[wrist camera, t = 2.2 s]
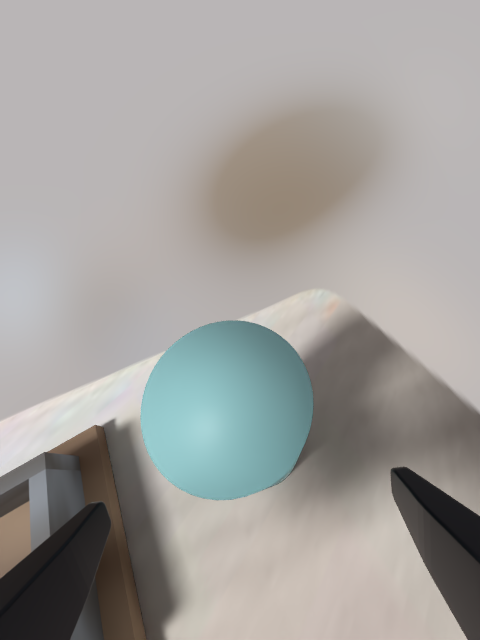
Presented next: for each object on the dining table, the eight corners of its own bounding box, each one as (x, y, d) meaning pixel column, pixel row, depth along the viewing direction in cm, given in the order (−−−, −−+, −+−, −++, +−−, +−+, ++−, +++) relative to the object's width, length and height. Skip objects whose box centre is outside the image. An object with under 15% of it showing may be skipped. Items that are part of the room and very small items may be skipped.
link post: (313, 460, 16) (355, 428, 6) (246, 504, 16) (174, 548, 6) (272, 393, 19) (254, 297, 9) (213, 429, 18) (123, 368, 8)
